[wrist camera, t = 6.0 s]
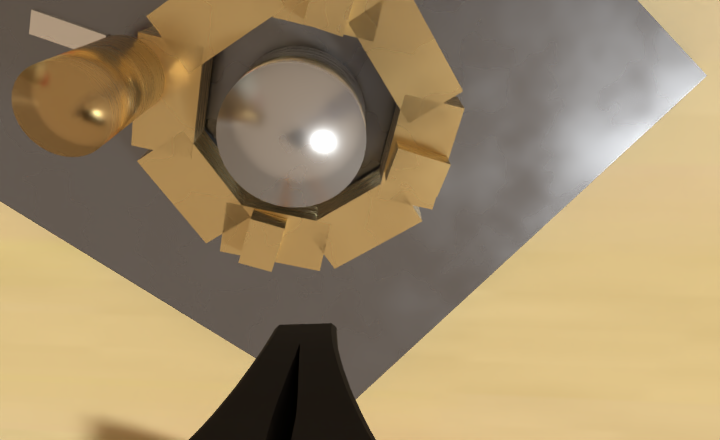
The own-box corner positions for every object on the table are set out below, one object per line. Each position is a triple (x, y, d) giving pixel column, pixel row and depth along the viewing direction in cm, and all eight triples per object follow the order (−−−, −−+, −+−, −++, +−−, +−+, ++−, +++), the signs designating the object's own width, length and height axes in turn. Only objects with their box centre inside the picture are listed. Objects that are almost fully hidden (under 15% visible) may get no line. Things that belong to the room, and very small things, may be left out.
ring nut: (498, 159, 21) (546, 232, 15) (267, 287, 23) (240, 388, 18) (341, -130, 17) (333, -163, 11) (81, 60, 19) (-23, 105, 14)
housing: (229, -427, 15) (187, -545, 11) (691, 69, 20) (762, 96, 17) (-67, 140, 22) (-152, 179, 18) (343, 395, 27) (340, 465, 24)
